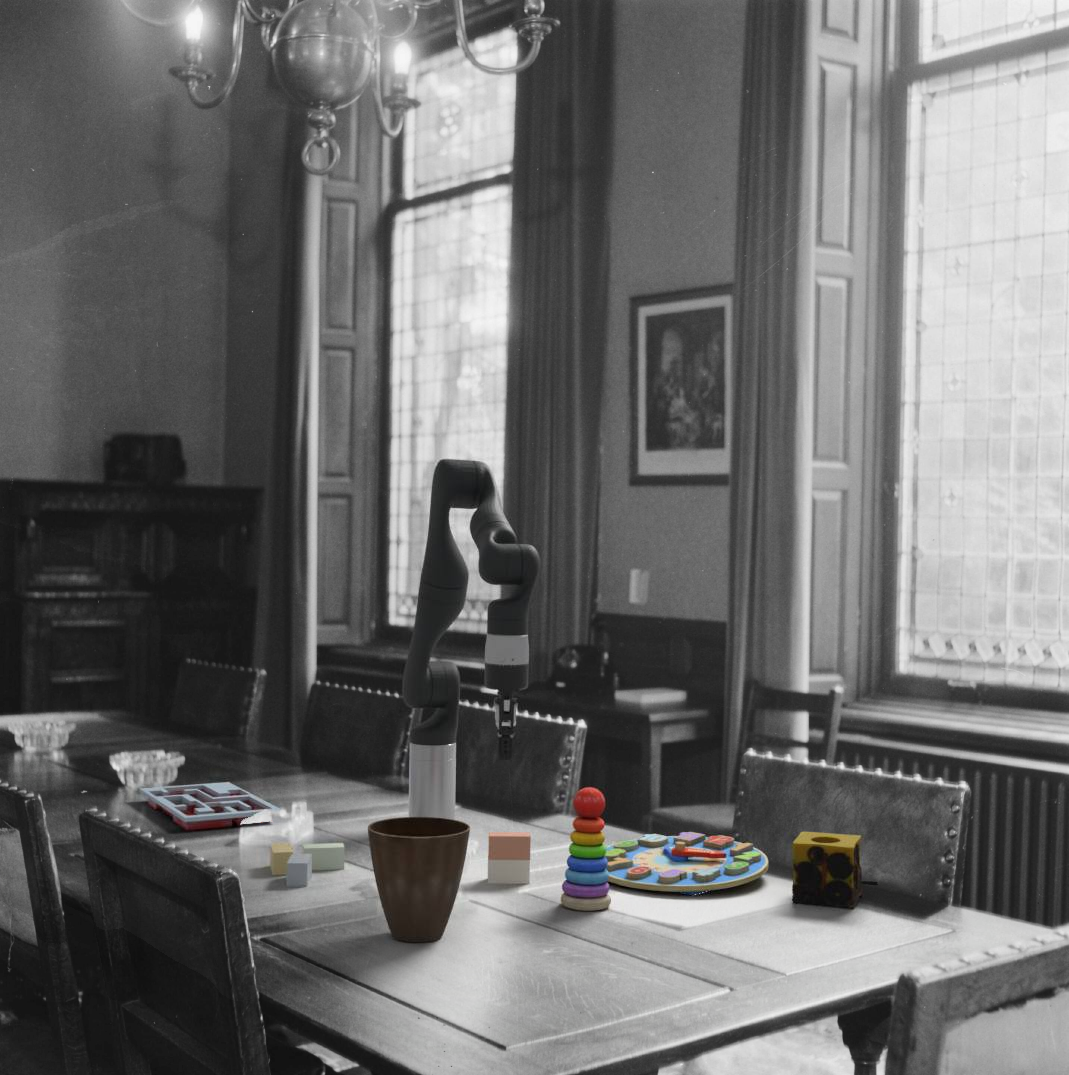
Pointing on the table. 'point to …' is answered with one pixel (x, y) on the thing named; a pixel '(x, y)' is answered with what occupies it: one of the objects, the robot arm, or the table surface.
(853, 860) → the yellow gear box toy
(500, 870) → the brick cream
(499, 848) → the brick terracotta
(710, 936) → the table surface
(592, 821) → the stacking toy
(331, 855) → the brick sage
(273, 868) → the brick ochre
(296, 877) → the brick slate
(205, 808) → the maze game
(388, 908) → the plant pot
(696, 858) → the shape sorting clock
